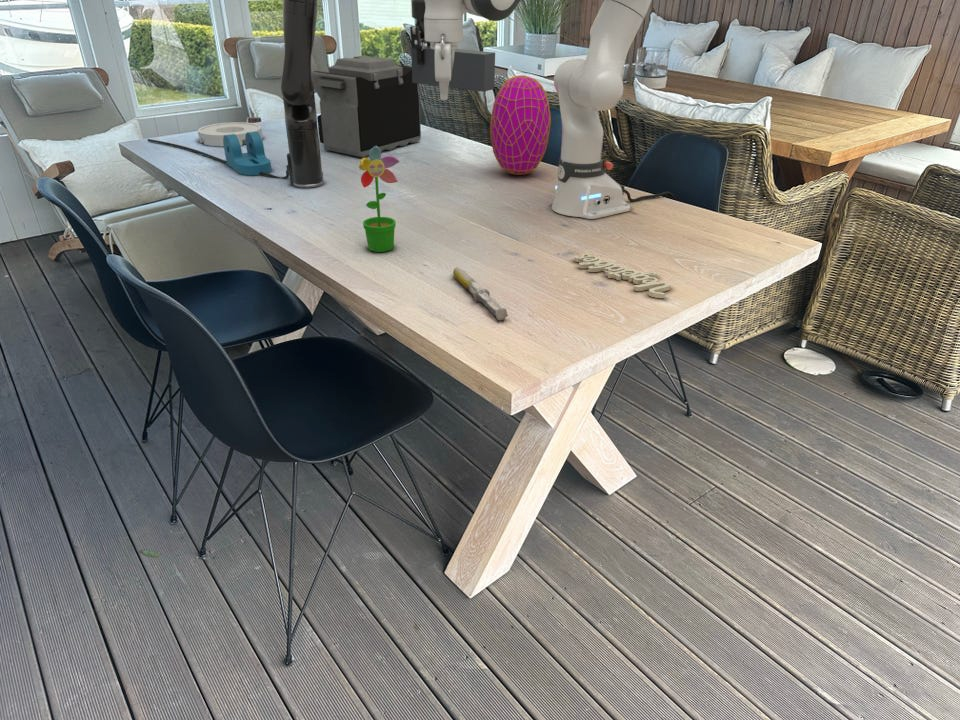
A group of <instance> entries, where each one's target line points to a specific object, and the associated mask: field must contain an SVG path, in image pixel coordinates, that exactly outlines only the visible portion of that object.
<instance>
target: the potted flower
mask: <svg viewBox="0 0 960 720" xmlns="http://www.w3.org/2000/svg"><path fill="white" fill-rule="evenodd" d="M398 163H400V160H399V158H397V157H396V156H394V155H391V154H388V155H384V156H382V152H381V150H380V148H379V147H378V146H375V147H373V148H372V149H371V150H370V152H369V155H368V157H363V158H362V157H361V160H360V162H359V166H358V169H360V170H361V171H363V173H362V175H361V176H360V182H361V185H362V187H363V188H367V187H369V186H370V185H371V184H372V182H373V181H374V183H375V200H370V201H368V202H367V203H366V204H365V206H366V207H367V208H368V209H370V210H371V209H372V210H376V213H377V216H373V217H369V218H366V219H364V220H363V221H362V225H363V229H364V232H365V237H366V243H367V248H368V250H370V251H372V252H376V253H386V252H389V251H392V250H393V249H394V247H395V230H396V229H395V228H396V224H397V221H396V220H395V219H394V218H392V217H389V216H388V217H387V216H381V207H380V205H381V204H380V200H381V201H382V200H384V198H385V197H386V195H387V193H385V192H380V190H379V178H380V180H381V181H382V182H385V183H388V184H395V183H398V182H399V181H398V178H397V177H396V175H395V174H394V172H393V171H391V170H390V168H391V167H394V166H395V165H397V164H398ZM388 168H389V169H388Z"/></svg>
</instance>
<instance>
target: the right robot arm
mask: <svg viewBox="0 0 960 720" xmlns="http://www.w3.org/2000/svg"><path fill="white" fill-rule="evenodd" d="M521 1H522V0H425V5H426V9H425V14H424V31H425V41H428V42H430V48H431V49H434V50H435V80H436V81H439V86H438V87H439V99H440V101H447V100H448V99H449V92H450V87H449V81H451V76H452V69H453V63H454V53H455V49H459V48H458V45H459V44H458V43H460V42H463V40H464V14H466V13H467V14H470V15H473V16H475V17H481V18H483V19H486V20H487V21H492V22H499V21H503V20H506V19H507V18H509V16H510V15H511V14H512V13H513V12H514V11H515V9H516V8H517V7H518V6H519V4H520V3H521ZM652 1H653V0H603V1H602V4H601V6H600V8H599V10H598V12H597V14H596V16H595V19H594V20H593V23H592V24H591V27H590V29H589V37H590V41H589V46H588V51H587V55H586V58H585V59H583V58H574V59H573V58H572V59H569V60H565V61H563V62H562V63H561V64H559V66H558V67H557V68H556V70H555V72H554V76H553V85H554V88H555V91H556V93H557V97H558V105H559V111H560V112H559V113H560V119H561V146H560V157H559V158H558V164H557V165H558V167H557V185H555V187H554V189H555V190H556V191H555V195H554V199H553V202H552V204H551V207H550V208H551V211H553V212H554V213H556V214H560V215H563V216H566V217H574V218H575V217H576V218H583V219H587V220H595V219H596V220H597V219H601V218H604V217H608V216H615V215H617V214H622V213H627V212H630V211H631V206H630V204H629V203H628V202H627V201H626V200H624V194H626V196H627V200H628V201H629V202H631V203H635V202H639V201H641V200H646V199H654V198H660V197H663V196H665V195H666V196H667V195H668V196H669V197H671V198H672V197H673V198H674V197H675V195H674V194H673V193H672V192H670V191H663V192H660V193H657V194H649V195H642V196H641V195H640V196H638V197H636V198H632V197H631V194H630V192H629V190H627V189H625V187H626V186H625V185H623V184H621V183H618V182H617V181H616V180H614V179H613V178H612V177H611V176H610V175H609V174H607V173H606V169H607V170H608V171H611V170H612V169H613V168H614V164H613V162H610V161H608V160H606V161H605V160H603V159H602V153H603V144H604V143H603V142H604V128H603V125H602V122H601V120H600V114H599V112H604V111H609V110H612V109H613V108H614V107H616V106H617V105H618V104H619V103H620V101H621V99H622V97H623V94H624V82H623V73H624V68H625V64H626V60H627V57H628V53H629V50H630V48H631V46H632V44H633V41H634V39H635V38H636V36H637V33H638V31H639V30H640V27H641V25H642V23H643V21H644V20H645V17H646V15H647V13H648V11H649V9H650V6H651V3H652Z"/></svg>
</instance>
